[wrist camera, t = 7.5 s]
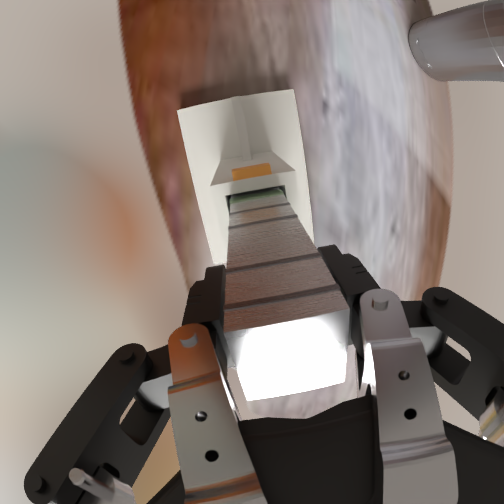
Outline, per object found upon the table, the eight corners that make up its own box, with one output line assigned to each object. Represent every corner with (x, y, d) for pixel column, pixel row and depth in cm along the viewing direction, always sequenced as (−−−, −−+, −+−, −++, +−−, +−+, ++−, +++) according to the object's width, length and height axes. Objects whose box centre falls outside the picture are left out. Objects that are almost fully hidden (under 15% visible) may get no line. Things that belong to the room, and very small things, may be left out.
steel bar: (231, 182, 22) (221, 331, 7) (271, 174, 22) (351, 306, 7) (239, 219, 23) (246, 401, 8) (277, 212, 23) (345, 382, 8)
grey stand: (180, 111, 27) (137, 104, 14) (289, 91, 26) (331, 69, 14) (215, 256, 35) (205, 334, 22) (310, 239, 34) (348, 308, 22)
